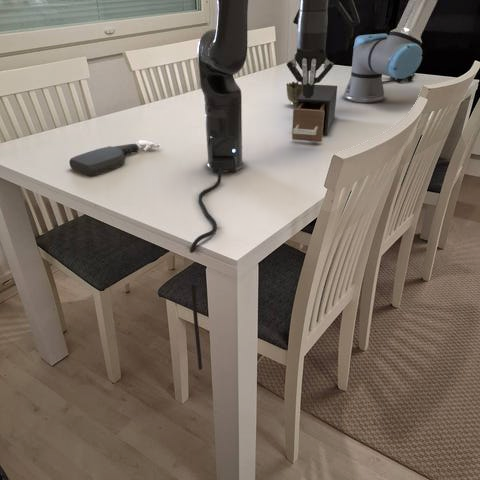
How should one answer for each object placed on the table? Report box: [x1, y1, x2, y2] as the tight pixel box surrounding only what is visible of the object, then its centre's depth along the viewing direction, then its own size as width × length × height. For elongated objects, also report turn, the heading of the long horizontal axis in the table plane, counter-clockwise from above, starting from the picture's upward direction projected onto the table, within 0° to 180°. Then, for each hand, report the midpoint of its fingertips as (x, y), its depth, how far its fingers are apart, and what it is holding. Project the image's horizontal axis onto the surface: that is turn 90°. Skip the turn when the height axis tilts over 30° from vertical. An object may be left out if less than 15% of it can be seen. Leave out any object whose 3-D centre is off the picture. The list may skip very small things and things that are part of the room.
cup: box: [286, 81, 303, 108], centre depth 165 cm, size 8×7×8 cm
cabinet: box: [295, 84, 338, 137], centre depth 145 cm, size 20×10×11 cm, turn 163°
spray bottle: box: [68, 139, 160, 177], centre depth 124 cm, size 3×11×24 cm
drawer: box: [291, 102, 327, 142], centre depth 136 cm, size 24×9×9 cm, turn 163°
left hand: (307, 97), depth 124 cm, fingers closed
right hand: (324, 48), depth 142 cm, fingers open, 13 cm apart
